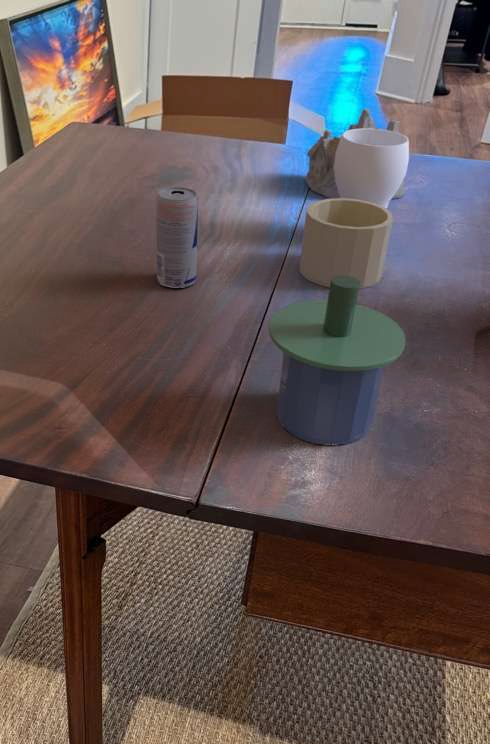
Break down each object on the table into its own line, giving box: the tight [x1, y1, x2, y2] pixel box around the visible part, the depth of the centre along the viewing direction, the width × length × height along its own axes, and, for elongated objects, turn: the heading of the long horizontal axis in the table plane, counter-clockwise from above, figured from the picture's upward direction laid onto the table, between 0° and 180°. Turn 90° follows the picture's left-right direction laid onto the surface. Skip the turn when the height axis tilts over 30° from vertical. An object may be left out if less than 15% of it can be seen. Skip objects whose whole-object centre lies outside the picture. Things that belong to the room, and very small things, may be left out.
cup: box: [334, 128, 410, 209], centre depth 107 cm, size 11×11×15 cm
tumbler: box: [276, 352, 385, 446], centre depth 70 cm, size 10×10×9 cm
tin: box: [299, 198, 394, 290], centre depth 99 cm, size 12×12×8 cm
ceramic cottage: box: [304, 108, 405, 200], centre depth 126 cm, size 16×16×15 cm
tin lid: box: [268, 275, 407, 371], centre depth 66 cm, size 13×13×6 cm
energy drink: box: [155, 186, 199, 288], centre depth 94 cm, size 5×5×12 cm
